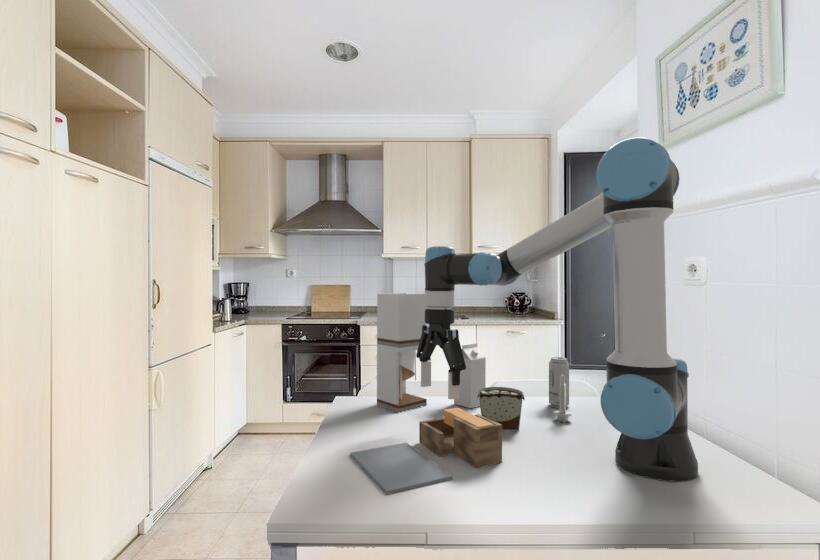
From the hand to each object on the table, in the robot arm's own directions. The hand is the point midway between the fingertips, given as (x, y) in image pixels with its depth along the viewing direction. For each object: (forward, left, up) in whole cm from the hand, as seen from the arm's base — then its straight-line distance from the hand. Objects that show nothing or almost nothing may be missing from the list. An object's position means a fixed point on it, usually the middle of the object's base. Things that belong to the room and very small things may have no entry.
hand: (439, 392), depth 110 cm
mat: (-13, +17, -11) cm, 24 cm away
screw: (-6, -37, -11) cm, 39 cm away
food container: (-2, -18, -11) cm, 21 cm away
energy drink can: (+5, -47, -11) cm, 49 cm away
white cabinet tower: (+28, -3, -11) cm, 30 cm away
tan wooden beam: (-13, 0, -6) cm, 14 cm away
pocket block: (-12, 0, -11) cm, 16 cm away
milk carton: (+19, -23, -11) cm, 32 cm away
